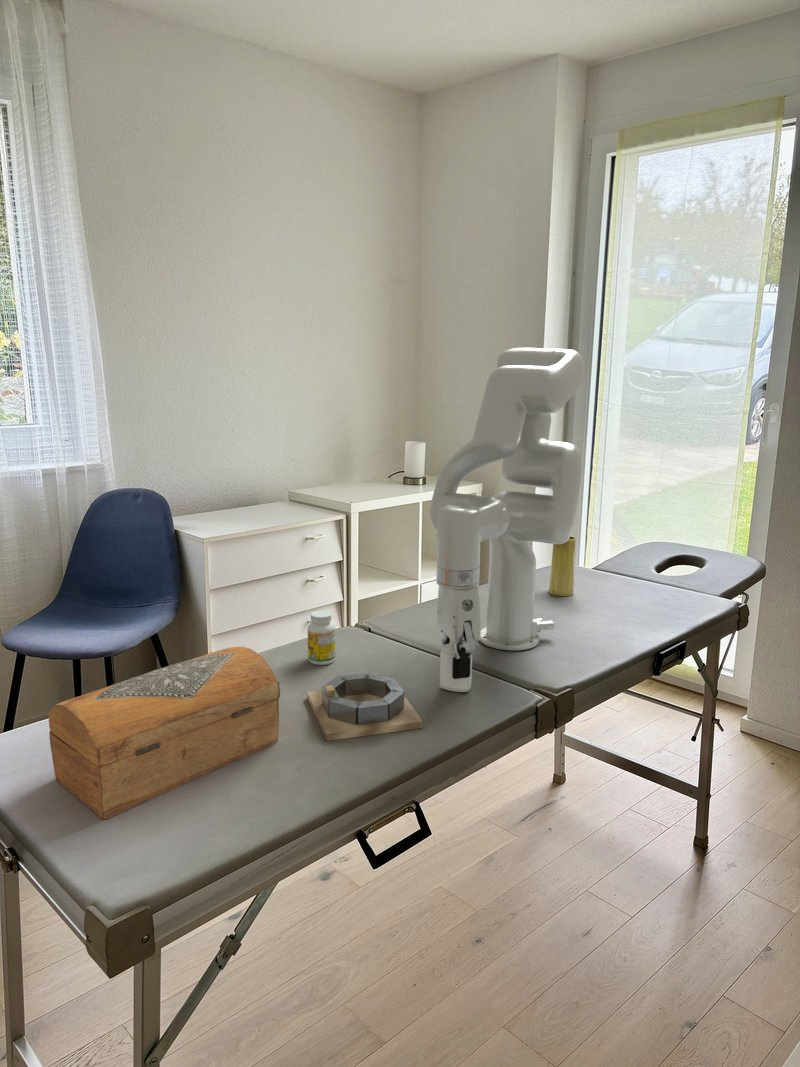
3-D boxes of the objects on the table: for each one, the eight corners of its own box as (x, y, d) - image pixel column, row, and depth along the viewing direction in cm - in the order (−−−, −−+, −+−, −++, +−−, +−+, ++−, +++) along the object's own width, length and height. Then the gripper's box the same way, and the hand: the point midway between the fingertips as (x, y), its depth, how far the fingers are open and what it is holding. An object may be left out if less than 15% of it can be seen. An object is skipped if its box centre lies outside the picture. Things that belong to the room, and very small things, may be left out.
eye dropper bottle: (458, 696, 145) (459, 633, 142) (435, 686, 149) (436, 624, 146) (475, 689, 148) (476, 627, 145) (452, 679, 152) (454, 618, 149)
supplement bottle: (338, 664, 159) (337, 617, 157) (310, 667, 157) (310, 619, 155) (332, 653, 164) (331, 608, 162) (305, 656, 162) (304, 610, 160)
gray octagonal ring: (388, 685, 147) (389, 665, 146) (411, 718, 135) (411, 695, 134) (317, 694, 143) (316, 673, 142) (333, 728, 131) (333, 705, 130)
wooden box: (222, 710, 140) (219, 633, 136) (283, 743, 129) (281, 661, 125) (47, 776, 119) (38, 687, 115) (103, 823, 108) (94, 726, 104)
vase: (575, 596, 201) (579, 540, 197) (550, 596, 201) (554, 540, 198) (570, 589, 207) (574, 534, 203) (546, 588, 207) (549, 533, 203)
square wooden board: (394, 687, 149) (394, 681, 148) (422, 728, 134) (422, 721, 134) (307, 698, 144) (307, 691, 144) (326, 741, 129) (326, 734, 129)
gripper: (497, 588, 136) (493, 688, 141) (460, 559, 152) (458, 651, 156) (455, 592, 134) (452, 694, 139) (421, 563, 150) (420, 655, 154)
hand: (455, 670), depth 148 cm, fingers closed on eye dropper bottle, 4 cm apart
